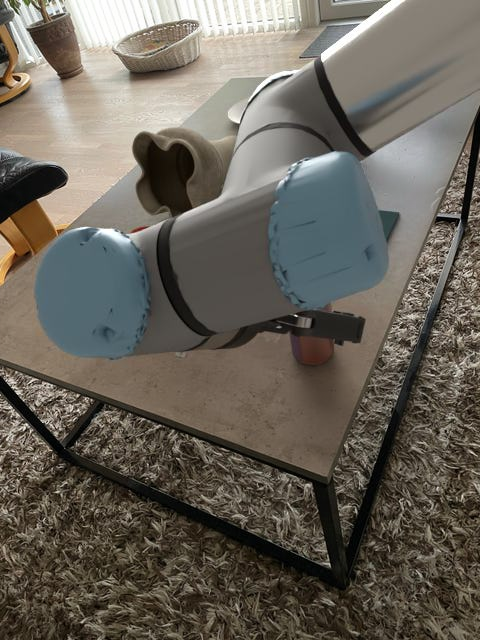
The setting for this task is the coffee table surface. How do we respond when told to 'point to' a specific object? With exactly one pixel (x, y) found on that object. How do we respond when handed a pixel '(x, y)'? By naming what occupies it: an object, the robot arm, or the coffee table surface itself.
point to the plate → (237, 110)
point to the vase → (180, 169)
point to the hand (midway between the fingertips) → (294, 312)
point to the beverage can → (312, 346)
